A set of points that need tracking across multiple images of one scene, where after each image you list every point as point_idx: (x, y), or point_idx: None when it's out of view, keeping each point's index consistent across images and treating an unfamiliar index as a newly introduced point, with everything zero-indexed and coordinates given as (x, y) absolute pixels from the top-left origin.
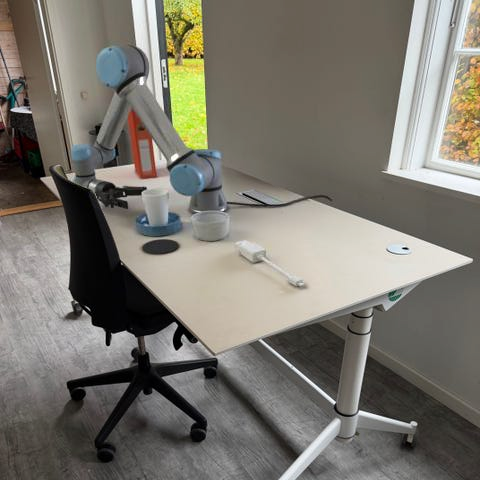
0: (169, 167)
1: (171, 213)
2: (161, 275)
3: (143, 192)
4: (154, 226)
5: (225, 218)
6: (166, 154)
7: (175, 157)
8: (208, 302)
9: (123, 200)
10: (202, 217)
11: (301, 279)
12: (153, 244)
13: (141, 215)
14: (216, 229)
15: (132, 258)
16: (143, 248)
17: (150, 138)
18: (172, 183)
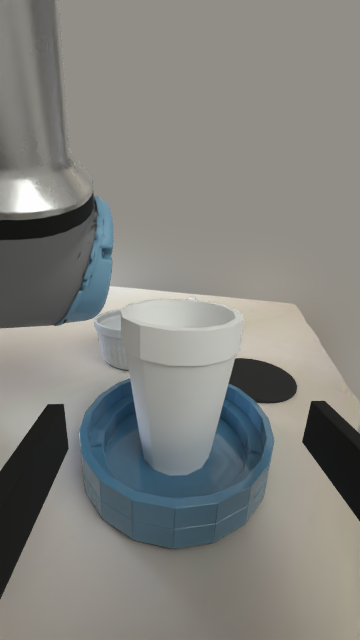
0: (87, 208)
1: (90, 423)
2: (294, 340)
3: (222, 325)
4: (232, 385)
5: (107, 322)
6: (63, 130)
7: (79, 162)
8: (270, 314)
9: (338, 422)
10: (119, 340)
11: (190, 296)
12: (262, 387)
13: (202, 498)
14: None
15: (330, 381)
16: (293, 387)
17: None
18: (110, 277)
